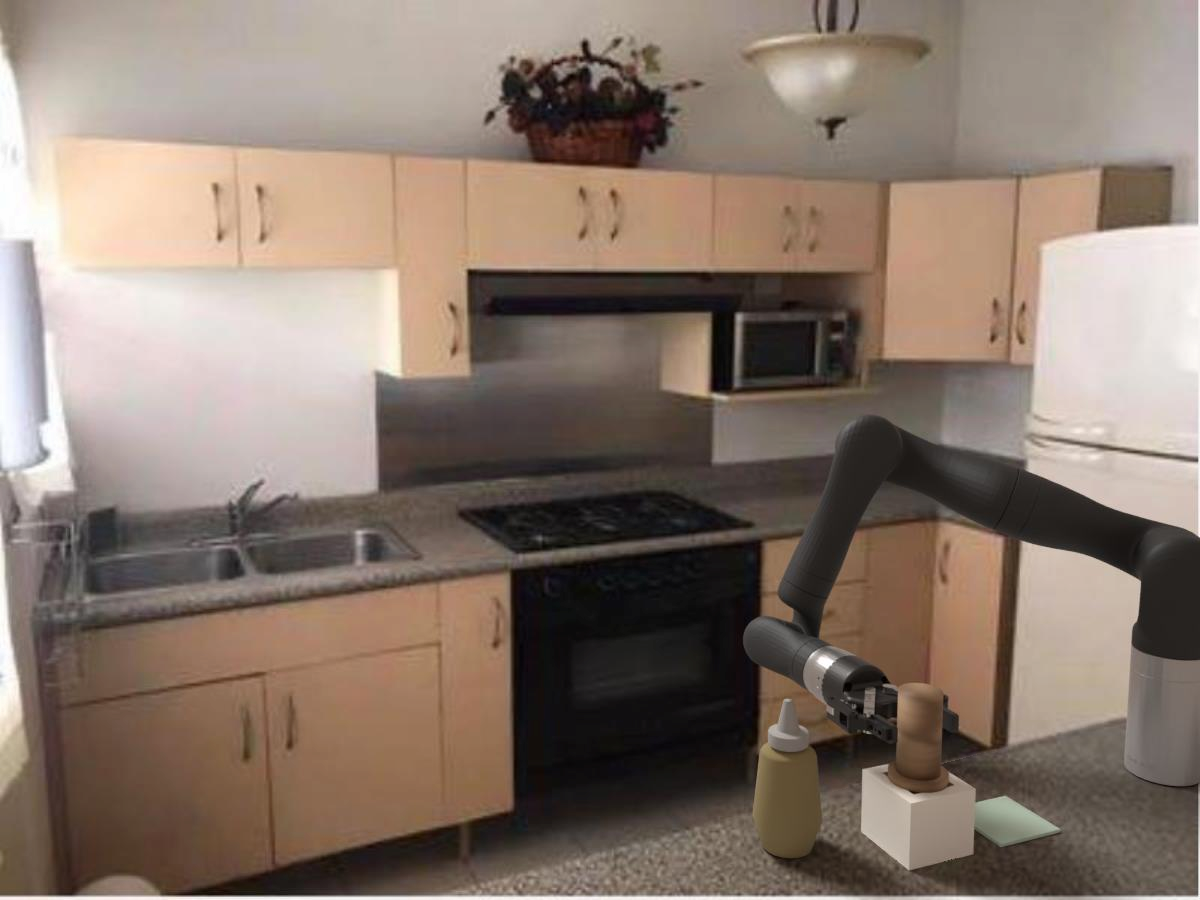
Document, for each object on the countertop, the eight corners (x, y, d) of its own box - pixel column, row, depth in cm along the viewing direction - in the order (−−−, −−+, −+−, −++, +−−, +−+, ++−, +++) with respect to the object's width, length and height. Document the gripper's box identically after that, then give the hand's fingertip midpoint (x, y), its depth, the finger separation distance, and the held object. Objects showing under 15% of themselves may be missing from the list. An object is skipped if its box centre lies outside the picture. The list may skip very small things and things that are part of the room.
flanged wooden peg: (922, 771, 120) (925, 676, 118) (961, 796, 113) (964, 696, 112) (875, 781, 117) (877, 684, 116) (912, 807, 111) (915, 705, 109)
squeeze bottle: (749, 860, 113) (750, 711, 110) (755, 825, 121) (756, 685, 118) (821, 869, 111) (824, 717, 109) (822, 832, 119) (825, 690, 116)
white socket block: (922, 817, 122) (924, 756, 121) (973, 854, 114) (975, 788, 113) (861, 831, 119) (862, 769, 118) (908, 870, 110) (910, 803, 109)
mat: (1005, 798, 126) (1005, 795, 126) (1060, 832, 118) (1060, 829, 118) (948, 811, 123) (948, 808, 123) (1000, 847, 115) (1000, 844, 115)
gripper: (797, 662, 125) (875, 708, 110) (891, 647, 130) (977, 690, 115) (797, 718, 126) (873, 771, 111) (889, 701, 131) (975, 750, 116)
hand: (926, 730), depth 113 cm, fingers open, 8 cm apart
